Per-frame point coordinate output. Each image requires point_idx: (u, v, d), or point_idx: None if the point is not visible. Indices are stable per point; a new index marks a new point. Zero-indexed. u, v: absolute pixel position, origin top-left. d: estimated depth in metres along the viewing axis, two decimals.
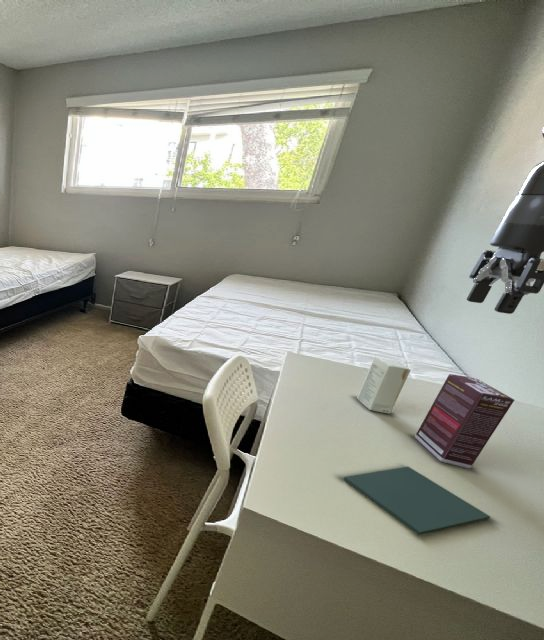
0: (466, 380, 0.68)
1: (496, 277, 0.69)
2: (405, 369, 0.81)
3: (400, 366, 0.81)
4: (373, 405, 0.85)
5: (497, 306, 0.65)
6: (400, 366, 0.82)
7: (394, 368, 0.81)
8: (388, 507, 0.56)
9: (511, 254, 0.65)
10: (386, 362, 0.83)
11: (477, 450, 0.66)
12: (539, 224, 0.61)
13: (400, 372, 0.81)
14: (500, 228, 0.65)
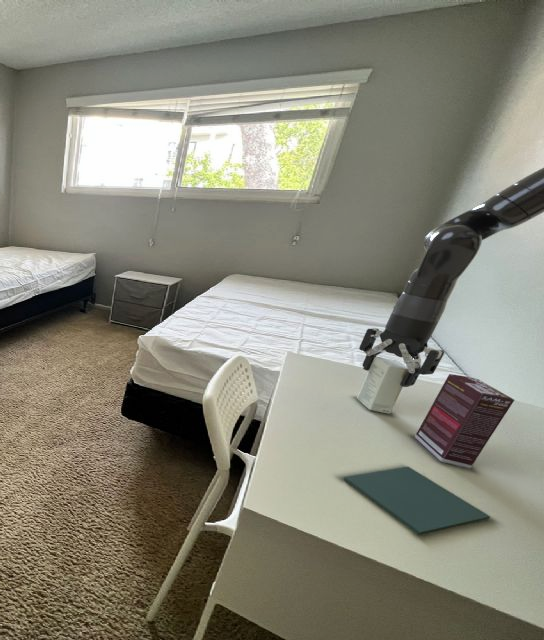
0: (466, 380, 0.68)
1: (383, 351, 0.86)
2: (405, 369, 0.81)
3: (400, 366, 0.81)
4: (373, 405, 0.85)
5: (403, 382, 0.81)
6: (400, 366, 0.82)
7: (394, 368, 0.81)
8: (388, 507, 0.56)
9: (404, 339, 0.80)
10: (386, 362, 0.83)
11: (477, 450, 0.66)
12: (431, 321, 0.76)
13: (400, 372, 0.81)
14: (400, 320, 0.79)
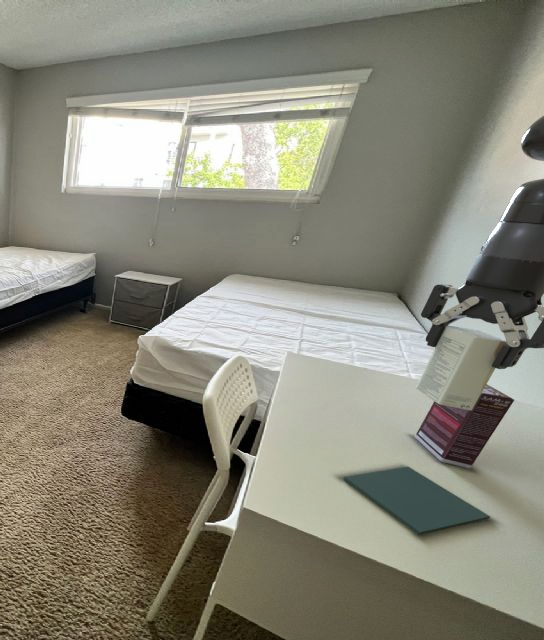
0: None
1: (459, 317, 0.57)
2: (501, 342, 0.52)
3: (491, 338, 0.53)
4: (446, 397, 0.56)
5: (497, 362, 0.52)
6: (491, 337, 0.53)
7: (483, 341, 0.53)
8: (388, 507, 0.56)
9: (501, 295, 0.52)
10: (467, 332, 0.55)
11: (477, 450, 0.66)
12: None
13: (492, 346, 0.53)
14: (496, 264, 0.51)
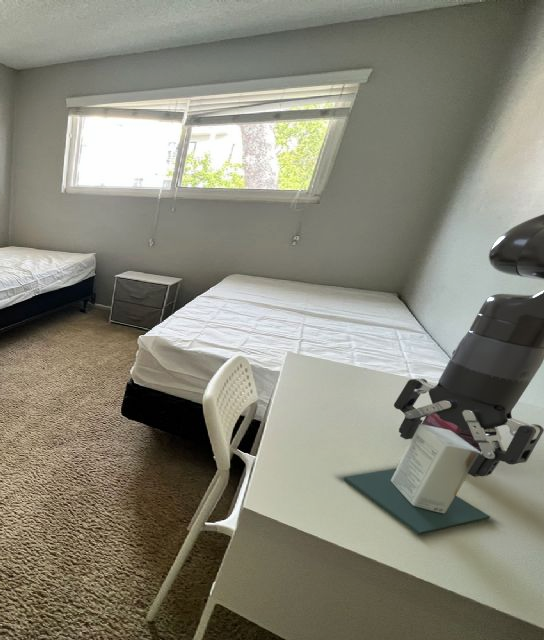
0: None
1: (431, 414, 0.57)
2: (472, 452, 0.52)
3: (463, 446, 0.53)
4: (420, 499, 0.56)
5: (473, 470, 0.52)
6: (463, 445, 0.53)
7: (454, 449, 0.53)
8: (388, 507, 0.56)
9: (472, 403, 0.52)
10: (439, 437, 0.55)
11: None
12: (520, 380, 0.47)
13: (464, 455, 0.53)
14: (466, 375, 0.50)
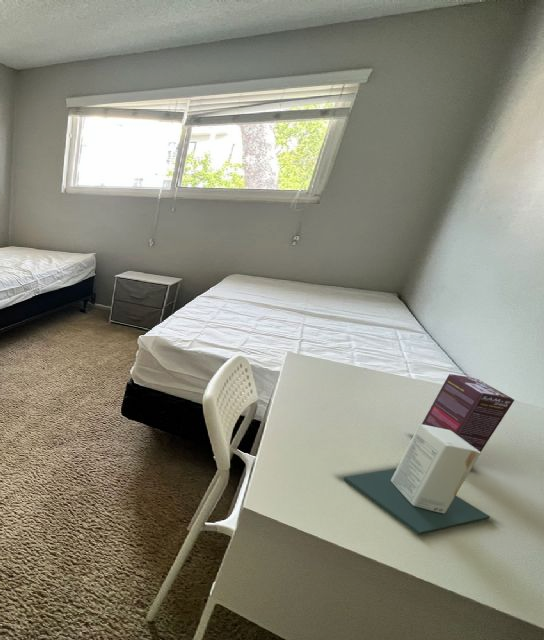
0: (466, 380, 0.68)
1: None
2: (472, 452, 0.52)
3: (463, 446, 0.53)
4: (420, 499, 0.56)
5: None
6: (463, 445, 0.53)
7: (454, 449, 0.53)
8: (388, 507, 0.56)
9: None
10: (439, 437, 0.55)
11: None
12: None
13: (464, 455, 0.53)
14: None
